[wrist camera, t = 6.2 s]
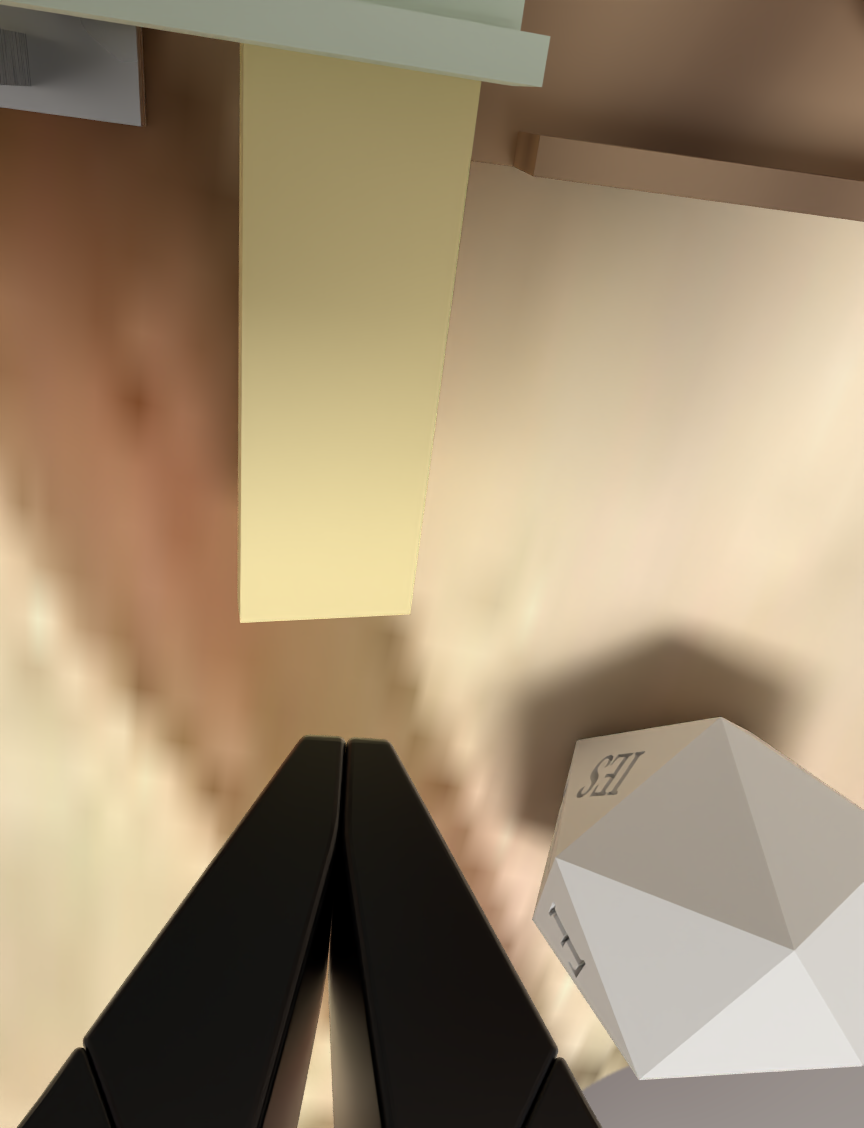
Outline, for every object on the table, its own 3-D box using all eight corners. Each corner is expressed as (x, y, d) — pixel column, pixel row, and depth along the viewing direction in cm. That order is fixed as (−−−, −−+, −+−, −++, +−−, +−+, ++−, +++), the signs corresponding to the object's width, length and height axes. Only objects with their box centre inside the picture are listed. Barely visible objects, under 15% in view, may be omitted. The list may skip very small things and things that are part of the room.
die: (637, 588, 22) (473, 929, 16) (992, 732, 19) (940, 1198, 14) (588, 732, 28) (459, 1009, 23) (846, 853, 26) (771, 1201, 20)
